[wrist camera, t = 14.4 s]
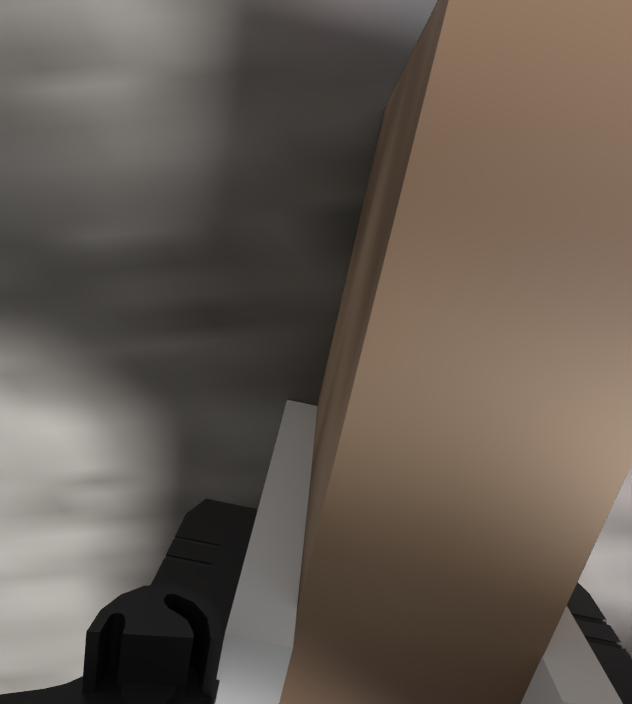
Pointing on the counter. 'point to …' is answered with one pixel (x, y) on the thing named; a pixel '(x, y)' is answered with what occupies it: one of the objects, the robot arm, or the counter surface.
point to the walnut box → (475, 362)
